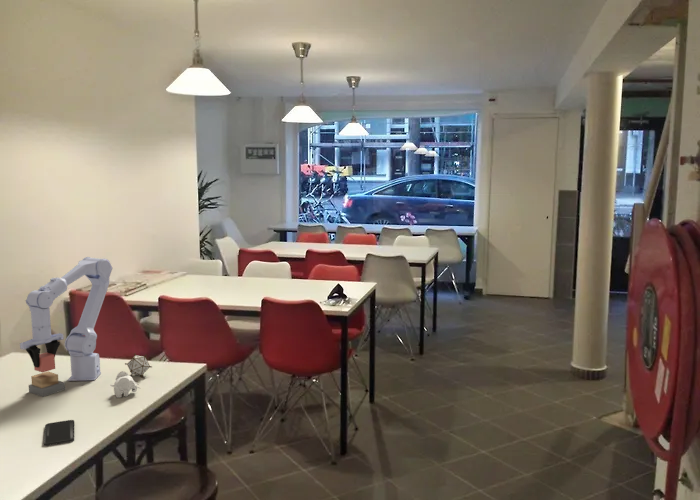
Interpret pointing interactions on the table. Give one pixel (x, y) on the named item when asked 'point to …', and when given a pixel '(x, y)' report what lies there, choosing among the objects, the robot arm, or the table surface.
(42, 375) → the oak tile
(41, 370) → the red block
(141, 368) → the grey geodesic polyhedron
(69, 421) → the phone
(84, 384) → the table surface
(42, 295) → the robot arm
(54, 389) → the charcoal base tile
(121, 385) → the elephant figurine
